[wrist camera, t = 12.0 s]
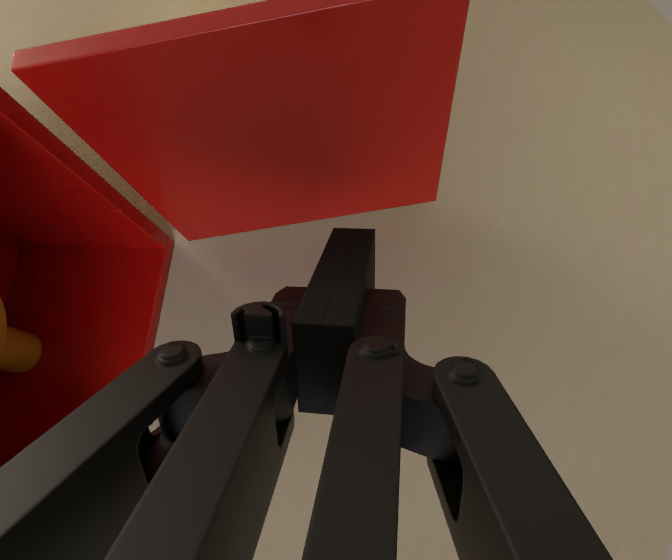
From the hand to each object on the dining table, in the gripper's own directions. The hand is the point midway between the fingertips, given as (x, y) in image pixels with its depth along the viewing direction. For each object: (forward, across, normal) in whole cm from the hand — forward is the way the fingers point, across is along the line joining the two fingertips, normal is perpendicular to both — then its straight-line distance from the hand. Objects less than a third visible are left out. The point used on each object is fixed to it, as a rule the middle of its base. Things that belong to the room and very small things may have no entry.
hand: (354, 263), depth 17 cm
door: (+10, -4, 0) cm, 11 cm away
